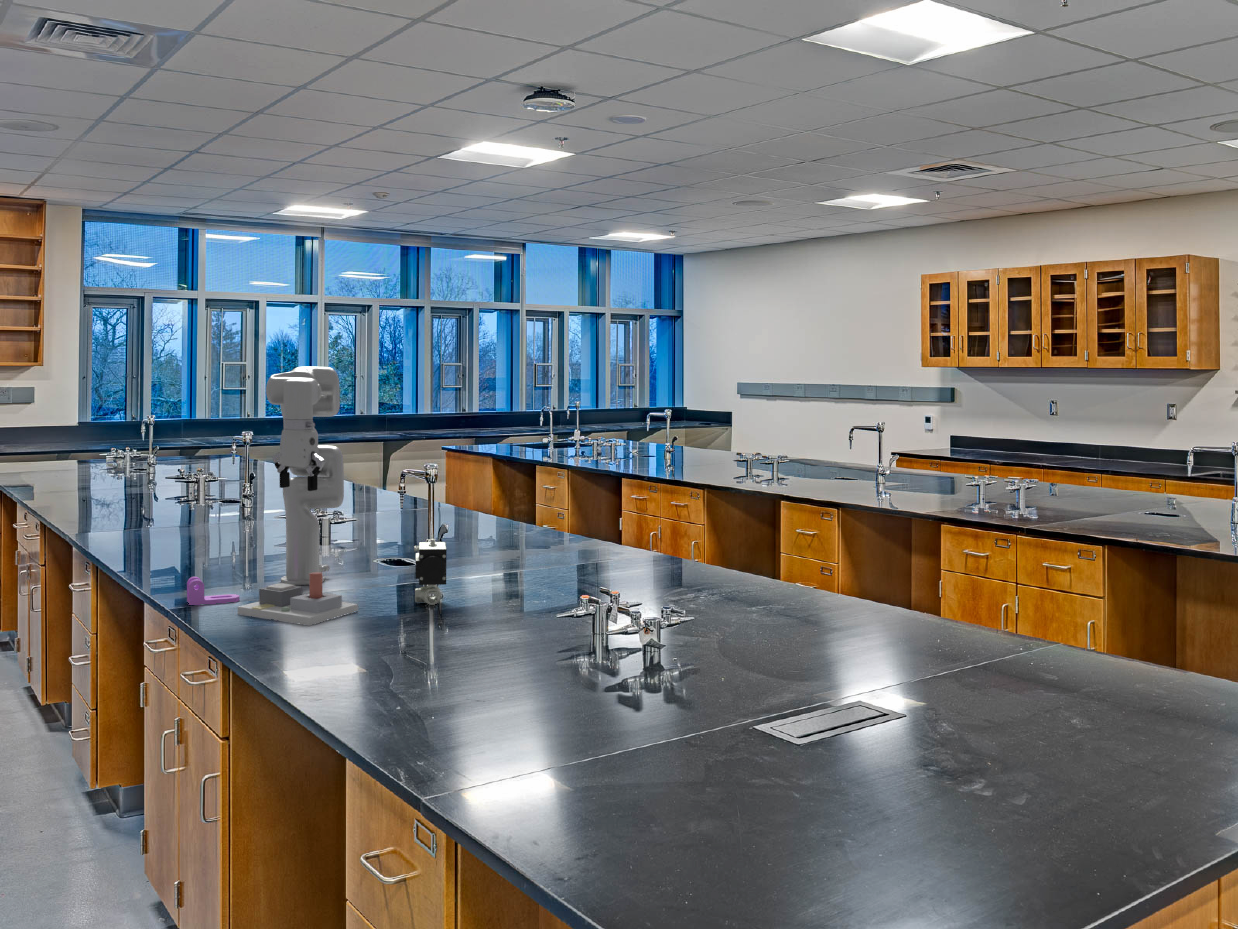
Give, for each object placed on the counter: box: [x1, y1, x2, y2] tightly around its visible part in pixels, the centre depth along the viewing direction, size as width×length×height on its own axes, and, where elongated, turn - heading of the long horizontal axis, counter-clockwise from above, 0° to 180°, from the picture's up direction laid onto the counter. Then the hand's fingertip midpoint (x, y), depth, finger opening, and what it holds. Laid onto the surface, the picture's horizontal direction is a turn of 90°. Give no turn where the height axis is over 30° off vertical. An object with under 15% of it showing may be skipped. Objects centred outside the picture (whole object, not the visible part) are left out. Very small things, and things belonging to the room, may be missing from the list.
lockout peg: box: [308, 572, 323, 599], centre depth 261 cm, size 3×3×9 cm
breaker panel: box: [237, 585, 359, 626], centre depth 264 cm, size 18×24×6 cm
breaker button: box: [266, 582, 296, 591], centre depth 266 cm, size 5×5×4 cm
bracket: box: [186, 576, 241, 606], centre depth 275 cm, size 13×6×7 cm, turn 119°
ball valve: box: [413, 538, 447, 606], centre depth 279 cm, size 18×8×18 cm, turn 11°
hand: (298, 488), depth 274 cm, fingers open, 9 cm apart
